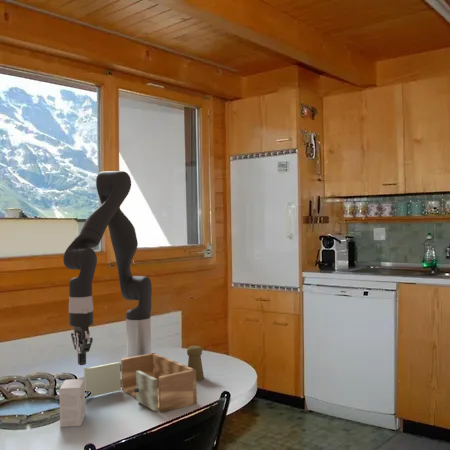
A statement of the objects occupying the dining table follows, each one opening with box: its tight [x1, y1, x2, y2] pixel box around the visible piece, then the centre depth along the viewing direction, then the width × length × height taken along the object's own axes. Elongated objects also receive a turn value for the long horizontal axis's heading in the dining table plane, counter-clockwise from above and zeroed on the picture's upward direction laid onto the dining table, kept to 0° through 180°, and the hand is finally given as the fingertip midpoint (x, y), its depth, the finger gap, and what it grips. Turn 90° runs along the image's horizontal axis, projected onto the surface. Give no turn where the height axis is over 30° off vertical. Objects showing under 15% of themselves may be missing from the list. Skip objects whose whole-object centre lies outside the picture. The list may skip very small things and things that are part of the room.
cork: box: [186, 345, 205, 382], centre depth 183 cm, size 6×6×11 cm
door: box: [83, 361, 122, 398], centre depth 167 cm, size 12×2×9 cm, turn 126°
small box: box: [58, 378, 87, 428], centre depth 146 cm, size 8×6×10 cm
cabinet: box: [120, 352, 198, 414], centre depth 164 cm, size 26×15×10 cm, turn 36°
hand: (82, 364), depth 169 cm, fingers closed
